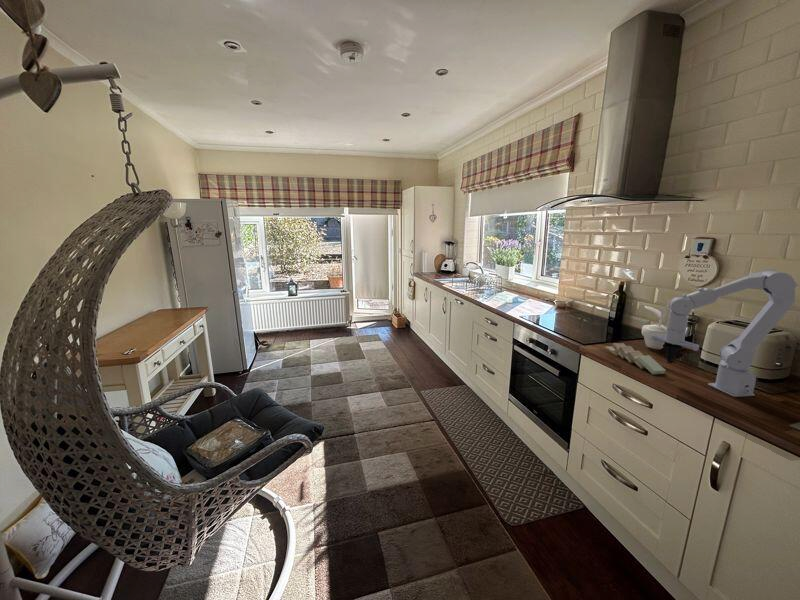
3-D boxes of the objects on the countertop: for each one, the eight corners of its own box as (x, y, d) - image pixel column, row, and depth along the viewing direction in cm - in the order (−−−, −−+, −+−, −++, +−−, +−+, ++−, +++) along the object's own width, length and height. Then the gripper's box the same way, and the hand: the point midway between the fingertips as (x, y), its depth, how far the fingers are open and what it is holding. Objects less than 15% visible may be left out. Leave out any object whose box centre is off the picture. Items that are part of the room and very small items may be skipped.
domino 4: (653, 365, 139) (638, 350, 146) (643, 365, 138) (628, 351, 146) (652, 368, 140) (636, 353, 147) (641, 368, 139) (626, 354, 147)
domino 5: (665, 370, 133) (649, 355, 141) (654, 371, 133) (638, 356, 140) (663, 373, 134) (647, 358, 142) (652, 374, 134) (636, 359, 141)
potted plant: (674, 349, 160) (683, 298, 154) (659, 353, 156) (667, 301, 150) (647, 341, 171) (654, 293, 166) (632, 344, 167) (639, 296, 162)
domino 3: (643, 360, 144) (630, 346, 151) (631, 360, 144) (619, 346, 151) (641, 363, 145) (629, 348, 152) (630, 363, 145) (618, 349, 152)
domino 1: (628, 353, 153) (614, 346, 162) (617, 353, 153) (604, 346, 162) (627, 356, 154) (614, 349, 162) (617, 357, 153) (604, 350, 162)
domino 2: (635, 355, 149) (623, 343, 156) (624, 355, 149) (613, 343, 156) (633, 358, 150) (622, 346, 157) (622, 358, 150) (611, 346, 157)
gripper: (705, 332, 121) (699, 366, 124) (659, 322, 133) (654, 354, 136) (696, 335, 118) (690, 371, 121) (650, 325, 130) (645, 357, 133)
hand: (670, 362), depth 128 cm, fingers closed
